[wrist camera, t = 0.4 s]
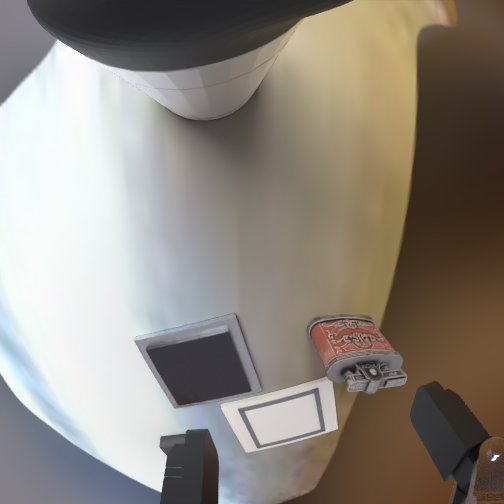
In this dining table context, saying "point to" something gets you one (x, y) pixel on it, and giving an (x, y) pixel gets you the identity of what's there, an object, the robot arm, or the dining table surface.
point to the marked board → (283, 415)
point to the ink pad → (200, 361)
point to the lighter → (356, 352)
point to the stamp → (171, 442)
